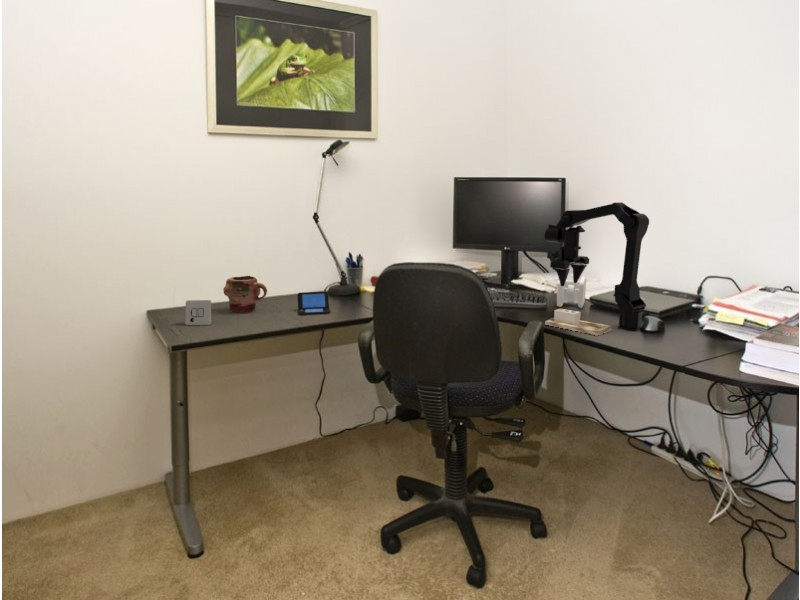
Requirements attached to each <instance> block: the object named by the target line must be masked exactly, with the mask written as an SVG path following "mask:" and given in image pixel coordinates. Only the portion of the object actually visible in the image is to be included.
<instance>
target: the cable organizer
mask: <svg viewBox="0 0 800 600" xmlns="http://www.w3.org/2000/svg"><path fill="white" fill-rule="evenodd" d="M556 287H557V290H556V306H557V307H558V308H562V307H563V305H564V304H568V303H571V304H574V305H575V304H577V305H578V308H579V309H582V308H583V307H584V305H585V301H586V289H587V276H582V277H580V280H578V281H577V283H574V281H573V279H572V280H570V279H566V282H565V285H564V286H561V284H560V281H559V279H558V280H557V281H556Z"/></svg>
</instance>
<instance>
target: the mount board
mask: <svg viewBox="0 0 800 600" xmlns="http://www.w3.org/2000/svg"><path fill="white" fill-rule="evenodd" d="M544 323H545V325H549V326H548V327H550V326H554V327H553V328H555V327H559V328H558V329H560V328H563V329H562V330H565V329H568V330H567V331H570V330H572V331H571V332H575V331H578V332H577V333H580V332H582V333H581V334H584V333H587V334H586V335H589V334H591V335H590V336H594V335H595V337H599V336H601V335H604V334H606V333H608V332H611V331H612V327H613V326H612V325H609V324H602V323H598V322H591V321H586V320H581V319H580V326H573V325H570V324H566V323H561V322H556V321H554V317H551V318H549V319H547V320H545V322H544ZM603 333H604V334H603ZM598 335H599V336H598Z"/></svg>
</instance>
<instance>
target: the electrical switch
mask: <svg viewBox="0 0 800 600" xmlns="http://www.w3.org/2000/svg"><path fill="white" fill-rule="evenodd" d="M212 305H213V303H212V300H208V299H207V300H206V299H205V300H204V299H201V300H200V299H199V300H198V299H197V300H196V299H195V300H193V299H191V300H186V301H185V313H184V314H185V317H184V319H185V320H184V321H185V322H184V324H185V326H188V325H190V326H211V324H212V311H213V310H212V307H213V306H212Z"/></svg>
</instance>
